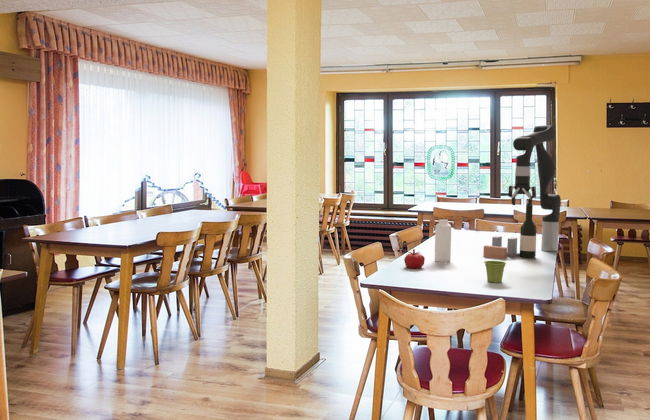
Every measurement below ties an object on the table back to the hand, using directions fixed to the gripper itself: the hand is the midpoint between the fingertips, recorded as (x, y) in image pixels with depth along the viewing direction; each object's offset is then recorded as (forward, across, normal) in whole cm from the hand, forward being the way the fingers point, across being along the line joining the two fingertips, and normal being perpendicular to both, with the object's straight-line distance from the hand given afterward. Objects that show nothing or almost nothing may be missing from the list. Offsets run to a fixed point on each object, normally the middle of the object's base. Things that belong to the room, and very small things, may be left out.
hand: (521, 205), depth 337 cm
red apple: (+30, +32, +57) cm, 71 cm away
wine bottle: (+30, 0, -10) cm, 31 cm away
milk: (+30, +31, +30) cm, 52 cm away
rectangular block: (+30, +14, 0) cm, 33 cm away
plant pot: (+30, -13, +63) cm, 71 cm away
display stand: (+29, +13, -10) cm, 34 cm away
